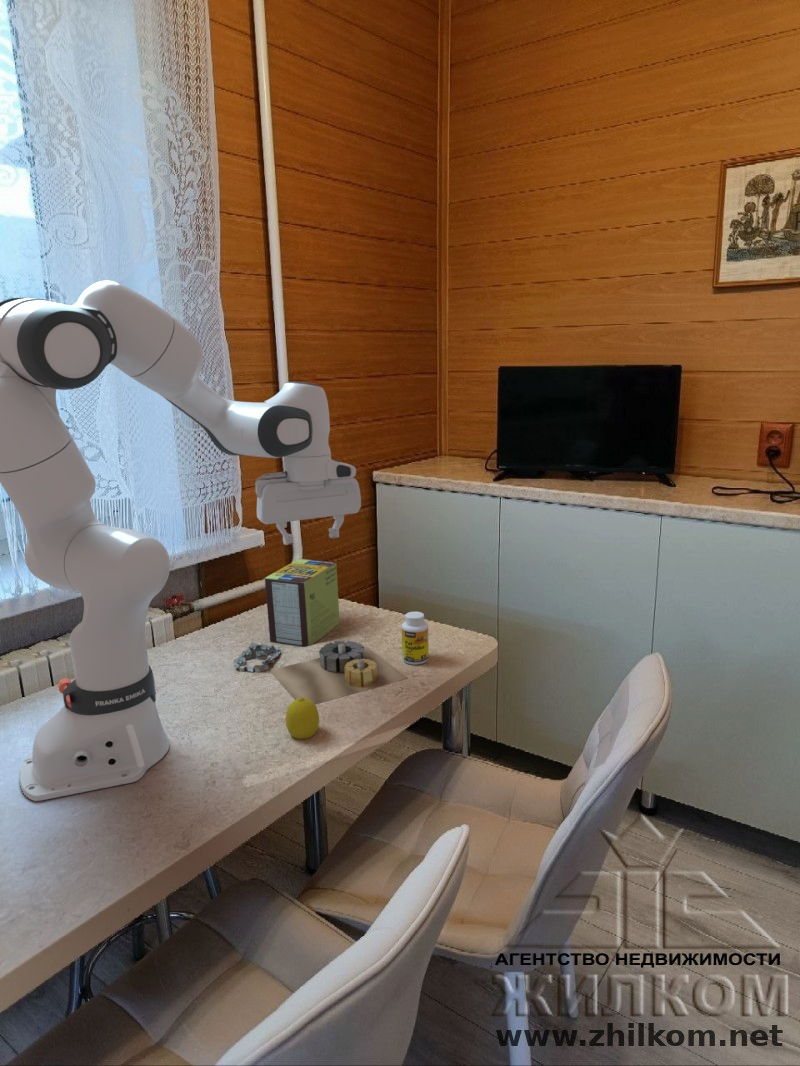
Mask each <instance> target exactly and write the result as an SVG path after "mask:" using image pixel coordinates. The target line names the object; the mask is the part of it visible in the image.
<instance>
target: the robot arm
mask: <svg viewBox="0 0 800 1066" xmlns="http://www.w3.org/2000/svg"><path fill="white" fill-rule="evenodd" d="M203 362H204V353H203V348H202V344H201V342H200V341H199V340H198V338H197V337H196V336H195V335H194V334H193V333H192V332H191V330H190V329H189V328H188V327H187V326H185V325H184V324H183V323H182V322H180V321H179V320H178V319H177V318H176V317H175V316H173V315H171V314H170V313H169V312H168V311H166V310H165V309H164V308H162V307H161V306H159V305H158V304H156V303H155V302H153V301H152V300H150V299H149V298H147V297H145V296H143V295H142V294H140V293H138V292H137V291H135V290H133V289H131V288H129V287H127V286H126V285H123V284H121V283H120V282H117V281H114V280H100V281H98V282H97V281H96V282H95V283H93V284H91V285H90V286H89V287H87V288H86V289H84V291H83V292H82V293H80V296H79V297H78V299H77V301H76V302H75V303H74V304H72V305H71V304H65V303H64V304H63V303H58V302H54V301H52V300H48V299H44V298H36V297H35V298H32V297H31V298H26V297H13V298H9V299H5V300H2V301H0V485H1V486H2V489H3V490H4V491H5V492H6V494H7V496H8V497H9V500H10V501H11V502H12V504H13V506H14V507H15V510H16V511H17V513H18V514H19V516H20V519H21V522H22V524H23V527H24V529H25V532H26V537H27V542H26V545H25V547H24V548H25V549H24V561H25V564H26V567H27V569H28V570H29V572H30V573H31V574H32V575H33V576H34V577H35V578H37V579H39V580H41V582H44V583H45V584H47V585H49V586H51V587H53V588H55V589H58V590H62V591H67V592H71V593H76V594H80V595H81V597H82V600H83V606H84V607H83V615H82V620H81V622H79V623H78V624H77V625H76V626H75V627H74V628H73V629H72V631H71V632H70V633H71V634H70V635H69V639H68V640H69V642H68V643H69V648H70V654H71V661H72V667H73V673H74V679H73V681H71V679H70V678H65V677H64V678H61V679H60V680H59V682H58V683H57V687H58V691H59V693H61V694H62V698H63V703H64V706H62V707H61V708H60V709H59V711H57V712H56V713H54V715H53V716H52V717H50V718H49V719H48V720H47V721H46V722H45V723H44V724H43V725H41V727H40V728H39V729H38V731H37V732H36V735H35V737H34V741H33V745H32V752H31V753H30V754H28V756H27V757H25V759H24V760H23V762H22V763H21V765H20V769H19V774H18V775H19V786H21V787H20V790H21V789H22V790H21V792H22V791H23V792H22V793H24V794H23V795H24V796H25V795H26V796H25V797H26V798H27V797H28V799H30V800H32V801H34V802H40V801H46V800H49V799H50V800H51V799H55V798H61V797H65V796H70V795H74V794H80V793H86V792H91V791H95V790H101V789H106V788H111V787H115V786H116V787H117V786H121V785H127V784H131V783H134V782H137V781H139V780H140V779H142V777H143V776H144V775H145V773H146V772H147V770H148V769H150V768H151V767H153V766H154V765H155V764H156V763H158V762H159V761H161V759H163V758H164V756H165V755H167V753H168V751H169V749H170V740H169V738H168V737H167V734H166V731H165V730H164V727H163V724H162V722H161V718H160V716H159V713H158V709H157V705H156V704H157V703H156V700H157V699H156V697H157V696H156V695H157V690H156V681H155V680H156V679H155V675H154V673H153V669H152V667H151V665H150V664H149V656H148V646H147V635H146V634H147V633H146V621H147V615H148V610H149V606H150V604H151V602H152V600H154V599H153V598H155V597H156V596H157V595H158V594H160V592H161V591H162V590H163V588H164V587H165V585H166V583H167V581H168V579H169V575H170V569H171V562H170V561H171V560H170V556H169V553H168V551H167V548H166V547H165V546H164V544H163V543H161V542H160V541H159V540H158V539H156V538H154V537H152V536H150V535H147V534H146V533H143V532H140V531H139V530H136V529H132V528H127V527H126V528H124V527H117V526H110V525H106V524H104V523H103V522H101V521H100V520H99V519H98V518H97V516H96V515H95V514H94V510H93V507H92V503H91V499H92V497H93V495H94V494H95V491H96V479H95V477H94V474H93V473H92V471H91V469H90V467H89V465H88V464H87V462H86V460H85V458H84V456H83V454H82V453H81V450H80V449H79V447H78V445H77V444H76V442H75V440H74V438H73V437H72V434H71V432H70V431H69V429H68V428H67V425H66V424H65V422H64V421H63V419H62V418H61V416H60V412H59V409H58V406H57V390H60V391H61V390H62V391H68V390H77V389H79V388H82V387H85V386H87V385H88V384H90V383H92V382H93V381H94V380H96V379H97V378H98V377H99V376H100V375H101V374H102V373H103V371H104V370H105V368H106V367H107V366H108V365H109V364H110V365H112V366H114V367H115V368H117V369H118V370H119V371H121V372H122V373H124V374H126V376H128V377H130V378H132V379H133V380H135V381H136V382H138V383H139V384H141V385H142V386H144V387H146V388H147V389H149V390H151V391H153V392H155V393H156V394H158V395H160V396H161V397H162V398H164V399H165V400H166V401H167V402H168V403H170V404H171V405H173V406H174V407H175V408H177V409H178V410H180V412H182V413H183V414H185V415H186V416H188V418H190V419H192V420H193V421H194V422H195V423H197V424H198V425H199V426H200V427H202V429H203V430H204V431H205V432H206V434H207V435H208V437H209V438H210V440H211V442H212V443H213V444H214V446H215V447H216V448H217V449H218V450H219V451H220V452H222V453H223V454H226V455H229V456H236V457H237V456H241V457H242V456H250V457H257V458H258V457H259V458H267V459H268V458H269V459H270V458H271V459H280V458H283V465H284V467H283V468H284V471H278V472H273V473H272V472H271V473H269V472H268V473H267V472H266V473H262V474H261V475H260V476H259V477H258V478H256V480H255V483H254V489H255V491H254V492H255V495H256V497H257V498H256V518H257V519H258V520H259V521H260V523H262V524H264V525H272V524H275V527H276V528H277V530H278V531H279V532H280V533H281V535H282V542H283V545H284V546H288V545H293V544H294V536H293V534H291V533H288V532H287V530H286V529H285V528H287V526H288V524H287V523H289V522H296V521H303V520H310V519H311V520H312V519H319V518H320V519H321V518H327V517H328V518H329V517H333V519H334V522H333V525H332V527H329V528H328V532H329V533H328V537H329V538H330V539H337V538H340V529H341V526H342V525H343V523H344V521H345V515H352V514H357V513H359V511H360V510H361V507H362V499H361V498H362V497H361V490H360V485H359V482H358V480H357V479H356V478H355V476H356V474H357V469H356V466H355V465H352V464H349V463H346V462H342V461H340V460H337V459H332V452H331V448H330V445H329V436H330V431H331V423H330V422H331V421H330V410H329V403H328V398H327V394H326V392H325V390H324V388H323V387H321V386H320V385H319V384H316V383H312V382H307V381H306V382H304V381H287V382H285V383H284V384H283V386H282V388H281V389H280V390H279V392H277V393H276V394H275V395H274V396H272V397H271V398H269V399H267V400H264V402H258V401H257V402H254V401H253V402H252V401H241V400H233V399H228V398H224V397H223V396H222V395H220V394H219V393H218V392H216V391H215V390H214V389H213V388H212V387H210V386H209V385H208V384H207V383H205V382H204V381H203V380H202V379H201V378H200V377H199V376H200V373H201V370H202V368H203Z"/></svg>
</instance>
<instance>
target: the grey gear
mask: <svg viewBox="0 0 800 1066" xmlns="http://www.w3.org/2000/svg"><path fill="white" fill-rule="evenodd" d="M339 644H345V651H346V653H345V654H339V649H338V645H339ZM364 647H365V646H364V645H363V644H362V643H360V642H357V641H353V640H347V641H345V640H338V641H337V640H336V641H334V642H328V643H327V644H325V645H323V646H321V647H320V649H319V651H318V653H319V658H320V666H321V667H322V668H323V669H327V671H332V672H337V671H338V670H340V672H345V667H344V666H345V665H346V664H347V662H350V661H352V660H356V659H365V648H364Z"/></svg>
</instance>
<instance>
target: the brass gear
mask: <svg viewBox="0 0 800 1066" xmlns="http://www.w3.org/2000/svg"><path fill="white" fill-rule="evenodd" d="M357 660H359V659H356V660H352V661H350V662H347V664H346V665H345V666H344V667H345V682H346V683H347V684H348V685H349V686H350V685H352V686H353V687H362V686H363V687H366V686H370V685H373V683H374V684H375V682H376V681H377V664H376V663H375V662H374V661H373V660H371V661H370V660H369V659H363V660H364V661H365V668H364V669H358V666H357Z"/></svg>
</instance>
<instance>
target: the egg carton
mask: <svg viewBox="0 0 800 1066" xmlns="http://www.w3.org/2000/svg"><path fill="white" fill-rule="evenodd" d="M281 653H282V647H281V646H279V647H275V646H274V645H273V644H271V645H268V644H263V643H261V644H258V643H256V642H251V643H250V644H249V645H248V647H247V648H246V649H245V650H242V653H240V655H239V656H238V657H237V658H234V659H233V667H234V668H236V669H238V670H239V672H246V671H247V672H250V673H251V672H252V673H253V672H255V673H261V672H263V671H268V670H269V669H270V668H269V667H270V666H269V664H274V663H275V659H276V658H277V657H279V656H280V654H281ZM253 659H255V660H258V661H261V663H260V664H255V665H254V666H247V665H246V664H247V662H248V661H252V660H253ZM244 665H246V666H244ZM242 666H244V667H243V668H241V667H242Z"/></svg>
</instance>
